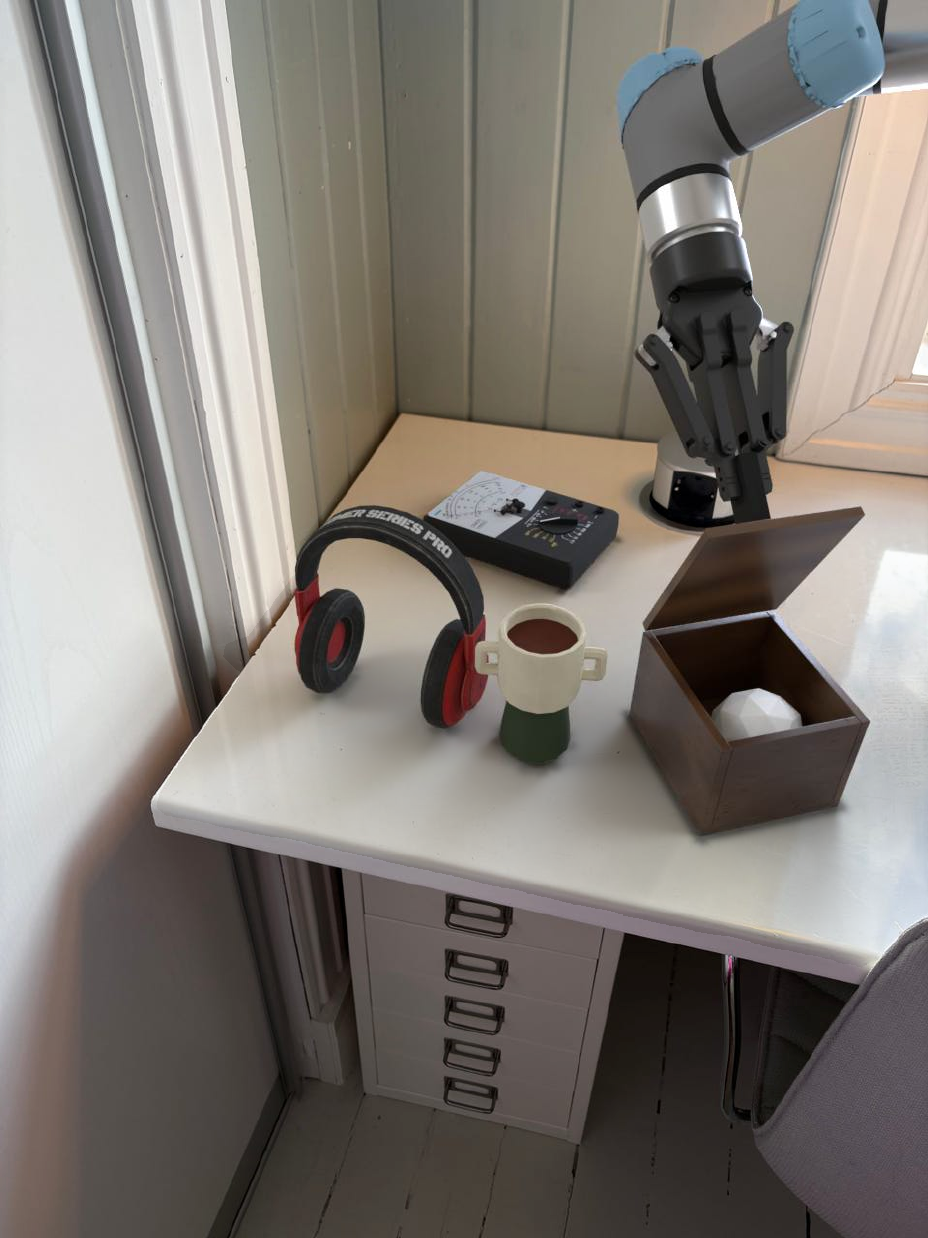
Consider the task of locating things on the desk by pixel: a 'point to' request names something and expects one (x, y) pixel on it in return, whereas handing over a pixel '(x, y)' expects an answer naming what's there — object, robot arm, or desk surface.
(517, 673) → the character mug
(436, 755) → the desk surface
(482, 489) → the multimeter
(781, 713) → the geometric ball
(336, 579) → the desk surface
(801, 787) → the chest
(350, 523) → the headphones
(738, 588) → the chest lid
